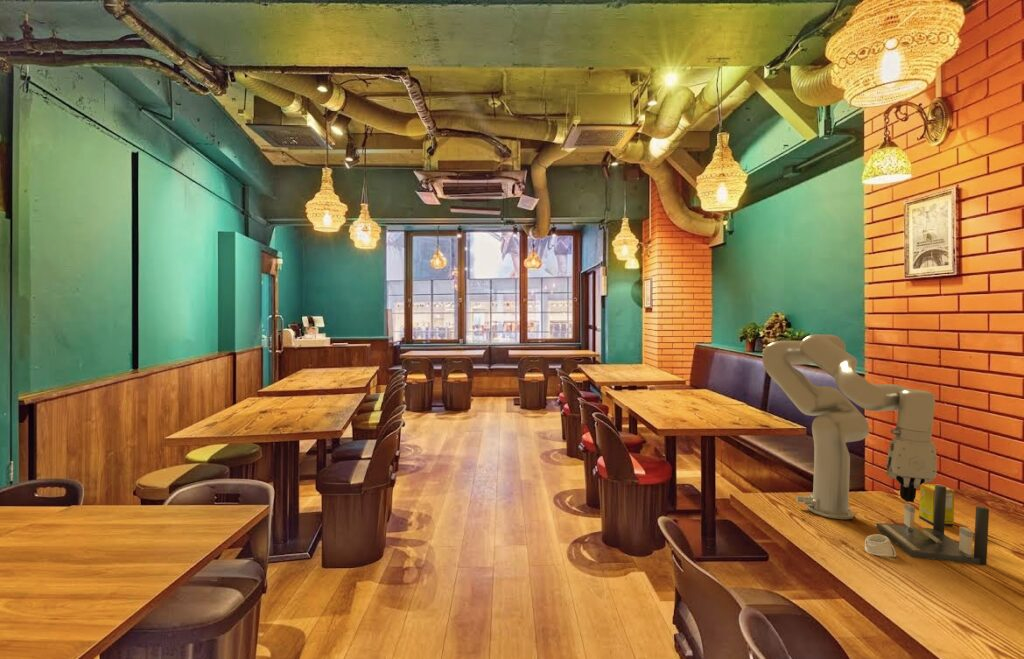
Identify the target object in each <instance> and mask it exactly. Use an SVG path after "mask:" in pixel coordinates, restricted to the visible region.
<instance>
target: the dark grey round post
mask: <svg viewBox="0 0 1024 659" xmlns="http://www.w3.org/2000/svg"><path fill="white" fill-rule="evenodd" d="M941 485H942V484H940V485H935V500H934V523H933V525H932V529H934V530H937V531H940V532H941V533H943V534H944V535H945V527H946V526H945V505H946V487H947V486H945V485H943V486H941ZM989 514H990V509H989V508H988V507H984V506H975V516H974V517H975V518H974V520H975V521H974V538H973V542H974V543H973V544H974V545H973V554H974V556H975V557H977V558H980V564H979V565H981V566H987V564H988V563H987V561H988V560H987V559H988V541H989V540H988V539H989V521H990V520H989V519H990V518H989V517H990V515H989Z"/></svg>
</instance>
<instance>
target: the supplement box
mask: <svg viewBox="0 0 1024 659" xmlns="http://www.w3.org/2000/svg"><path fill="white" fill-rule="evenodd" d="M935 485H941V486H944V485H943V484H939V483H938V484H937V483H936V484H935V483H922V484H921V485H920V486H919V507H918V509H919V510H918V513H919V514H918V518H919V520H920V519H921V520H922V521H924V522H926V523H928V524H930V525H931V526H933V523H934V500H935ZM945 487H946V505H945V527H954V522H955V521H954V517H955V516H954V514H955V490H954V489H952V488H950V487H947V486H945Z"/></svg>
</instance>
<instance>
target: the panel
mask: <svg viewBox="0 0 1024 659" xmlns="http://www.w3.org/2000/svg"><path fill="white" fill-rule="evenodd" d="M875 526H876V530H878V531H879V532H880V533H882V535H884V536H886V537H888V539H889V540H890V541H892V542H893V543H894V544H896V545H897V546H898V547H899V548H901V549H902V551H904V552H905V553H907V555H909V556H910V557H912V558H918V559H928V560H935V561H936V560H937V561H945V562H946V561H947V562H955V563H956V562H957V563H964V564H965V563H966V564H973V565H980V558H977V557H975V556H974V552H972V555H968V554H966V553H964V552H963V551H961V550H960V549H959V542H956V541H955V540H953V539H952V538H950V537H949V536H947V535H946V534H945V533H944V534H943V533H941V532H940V531H937V530H934V529H933V527H931V528H930V527H923V528H924V529H925V530H926V531H928V532H929V533H931V534H932V535H933V536H935V537H936V538H938V539H939V541H938V543H937V542H935V541H934V540H932V539H931V538H930V537H928V536H927V535H925V534H924V533H923V532H921V531H920V530H918V529H917V528H915V527H914V528H910V527H908V526H907V525H906V524H904V525H901V524H890V523H889V524H888V523H879V522H876V525H875Z"/></svg>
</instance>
